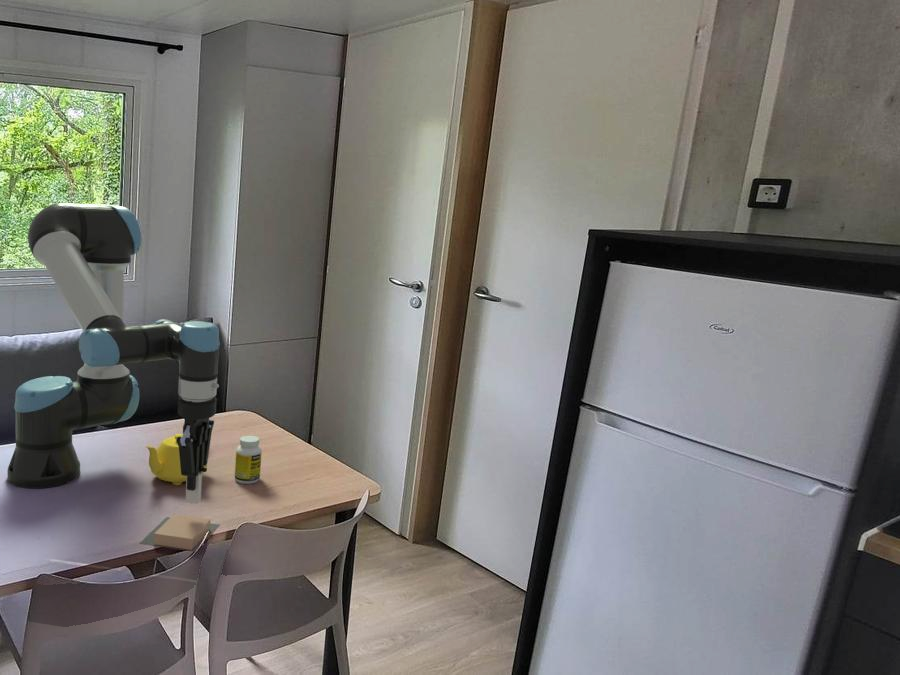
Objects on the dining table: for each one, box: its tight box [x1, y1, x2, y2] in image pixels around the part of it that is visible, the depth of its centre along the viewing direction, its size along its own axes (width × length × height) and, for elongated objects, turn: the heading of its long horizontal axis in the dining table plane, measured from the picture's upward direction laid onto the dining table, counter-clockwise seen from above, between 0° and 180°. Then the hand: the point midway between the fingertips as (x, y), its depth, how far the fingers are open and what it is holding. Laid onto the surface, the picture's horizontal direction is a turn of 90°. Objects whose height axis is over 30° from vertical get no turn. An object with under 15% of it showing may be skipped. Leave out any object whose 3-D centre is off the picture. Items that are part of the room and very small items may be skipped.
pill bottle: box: [234, 435, 263, 485], centre depth 180 cm, size 6×6×11 cm
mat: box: [139, 516, 220, 553], centre depth 151 cm, size 12×12×1 cm
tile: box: [154, 513, 212, 550], centre depth 149 cm, size 8×2×9 cm
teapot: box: [145, 433, 208, 486], centre depth 175 cm, size 20×15×12 cm
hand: (193, 501), depth 153 cm, fingers closed
